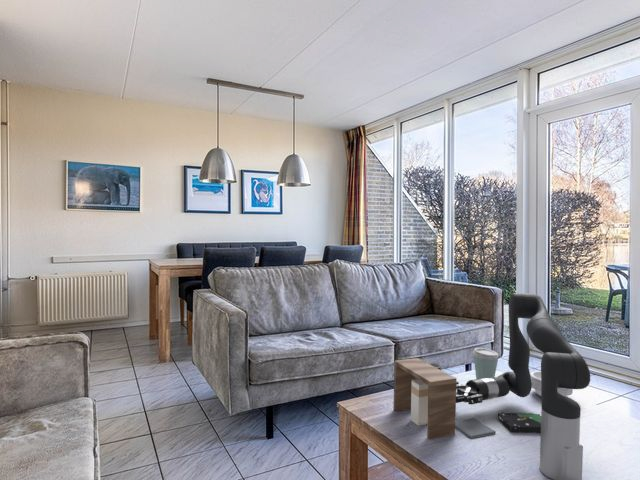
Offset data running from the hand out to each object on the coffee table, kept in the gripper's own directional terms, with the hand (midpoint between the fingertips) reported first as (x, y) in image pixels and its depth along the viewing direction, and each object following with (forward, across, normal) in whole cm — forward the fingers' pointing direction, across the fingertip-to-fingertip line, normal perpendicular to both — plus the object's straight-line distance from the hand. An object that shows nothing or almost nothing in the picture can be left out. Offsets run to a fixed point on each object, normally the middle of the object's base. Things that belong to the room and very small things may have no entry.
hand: (446, 394), depth 144 cm
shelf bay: (+10, 0, +8) cm, 13 cm away
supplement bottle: (-8, -18, +8) cm, 21 cm away
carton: (+11, 0, +8) cm, 13 cm away
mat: (-3, +10, +8) cm, 13 cm away
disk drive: (-22, +14, +9) cm, 28 cm away
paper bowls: (-53, -2, +8) cm, 54 cm away
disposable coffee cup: (-36, -20, +8) cm, 42 cm away
